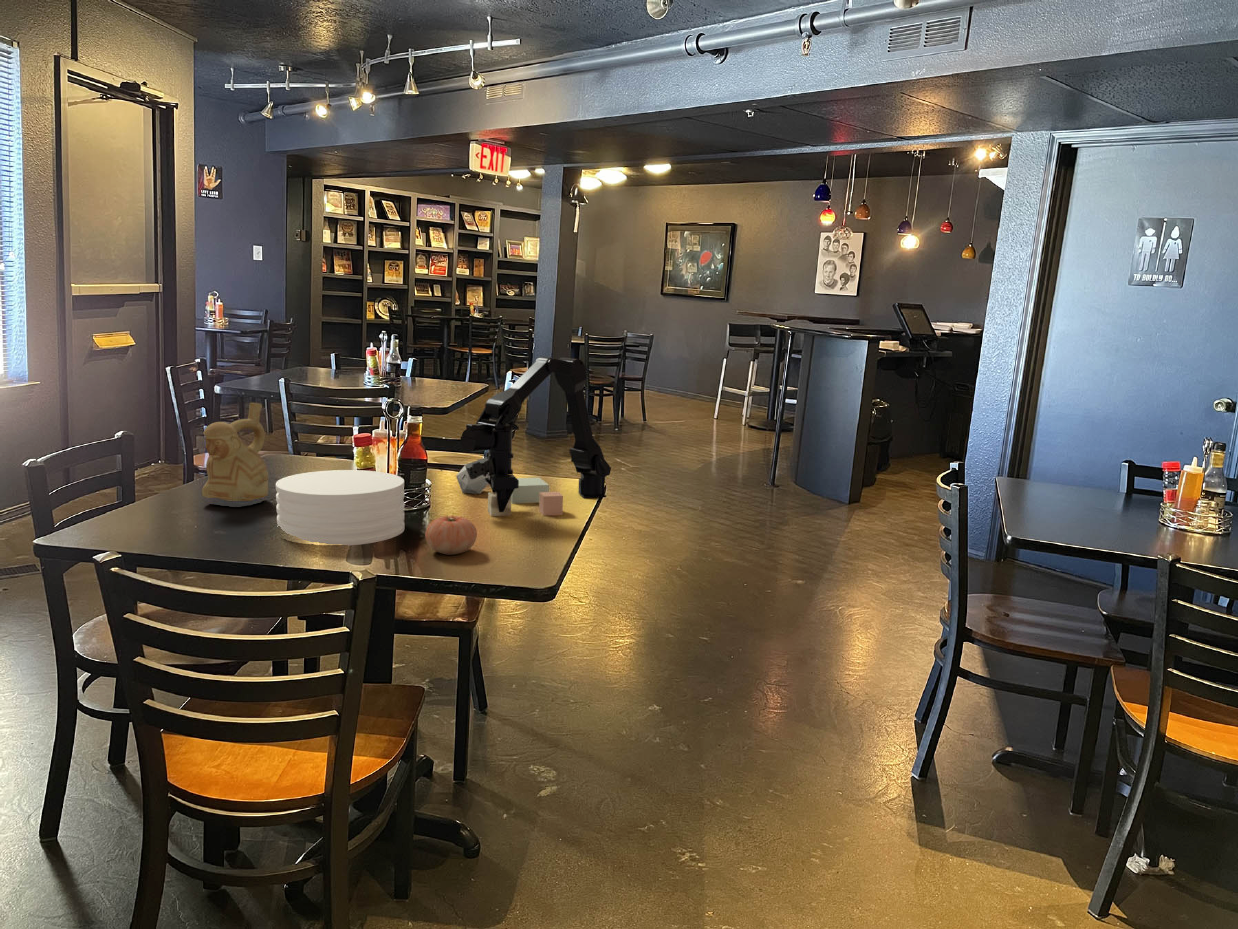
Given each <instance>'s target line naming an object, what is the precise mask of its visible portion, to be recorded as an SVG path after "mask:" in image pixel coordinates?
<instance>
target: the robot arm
mask: <svg viewBox="0 0 1238 929" xmlns="http://www.w3.org/2000/svg"><path fill="white" fill-rule="evenodd" d="M551 374H553V375H554V378H555V380H556V383H557V384H558V385H559V387H560V388H561V389H562V391H563V392H564V395H565V399H566V403H567V409H568V414H569V418H570V423H571V427H572V431H573V436H574V443H573V445H572V446H573V447H570V448H569V450H568V451H569V453H570V457H571V460H570V462H571V463H573V465H574V467H575V471H576V473H579V474H580V478H578V494H579V495H580V496H581V497H582V498H584V499H587V498H589V499H591V498H592V499H593V498H595V499H596V498H597V499H598V498H607V494H605V492H606V491H605V490H606V489H605V487H606V477H607V476H610V475H611V470H612V467H611V466H610V464H609V463H608V461H607V460H606V459H605V456H604V453H603V451H602V447H601V446H600V445H599V443H598V442H597V440H596V439H595V438H594V436H593V432H592V431H593V430H592V427H591V426H592V425H591V421H590V416H589V412H588V406H587V402H586V397H585V396H586V395H585V393H584V388H585V384H586V383H587V368H586V365H585V362H584V361H582V359H579V358H571V357H570V358H569V357H560V358H558V359H557V358H554V357H552V356H551V357H549V356H539V357H538V358H536V360H535V362H534V363H533V364H532V365H531V366H530V367H529V368H528V369H527V370H526V371H524V373H523V374H522V375H521V376H520V377H519V378H518V379H517V380H515V382H514V383H513V384H512V385H511V386H509V387H508V388H507V389H505V390H503V391H500V392H497V393H496V394H494V395H493V396H492V397H490V398H489V399H488V400H486V402H485V404H484V406H485V407H484V409H483V411H482V412H481V414H480V416H479V417H478V419H477V421H476V423H475V424H473V423H468V424H466V425H465V426H466V427H465V428H466V429H464V430H463V432H462V434H461V436H460V445H461V448H462V449H463V451H464V452H466V453H476V452H484V451H487V452H485V457H483V458H480V459H477V460H474V461H472V462H469V463H465V465H464V466H465V467H466V470H467V472H468V475H469V477H470V479H475V478H477V477H479V476H481V475H483V476H486V475H488V478H485V480H486V481H487V482H488V485H489V487H490V488H491V492H496V496H497V502H498V508H499V512H504V510H505V508H506V505H507V503H508V501H509V499H510V497H511V495H512V493H513V491H514V489H516V488H519V480H518V479H517V477H516V476H515V475H514V470H513V469H512V466H513V464H512V462H513V461H512V460H513V459H514V453H513V452H512V451H513V431H518V430H519V429H520V427H519V426H518V425H517V424H516V423H515V421H514V420H515V418H516V417H517V416H518V415H519V413H520V412H521V410H522V407H523V403H524V402H525V400H526V399H528V397H529V396H530V395H531V394H532V393H533V392H534V391H535V390H537V388H539V386H540V385H541V384H543V383H544V381H546V379H547V378H548V377H549V376H550V375H551Z"/></svg>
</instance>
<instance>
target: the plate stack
mask: <svg viewBox="0 0 1238 929" xmlns="http://www.w3.org/2000/svg"><path fill="white" fill-rule="evenodd" d="M404 488H405V480H404V478H403V477H401V476H400V475H396V474H393V473H387V472H383V471H375V470H361V469H337V470H334V469H333V470H319V471H317V470H316V471H310V472H302V473H296V474H292V475H289V476H284V477H283V478H280V479H278V480H277V481H276V482H275V491H276V492H277V493H276V494H275V500H276V503H277V504H276V507H275V509H276V513H277V515H276V523H277V527H278V526H280V527H281V529H282V530H283V531H285V532H286V533H287V534H290V535H293V536H296V537H298V538H301V540H307V541H310V542H319V543H326V544H342V545H348V546H358V545H366V544H367V545H368V544H372V543H373V544H374V543H376V542H382V541H387V540H389V539H392V538H394V537H395V538H396V537H397V536H400V535H401V534H402V533H404V531H405V501H404V498H405V490H404Z"/></svg>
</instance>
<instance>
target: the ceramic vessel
mask: <svg viewBox="0 0 1238 929" xmlns="http://www.w3.org/2000/svg"><path fill="white" fill-rule="evenodd" d="M262 408H263V404H261V403H259V402H258V403H257V402H249V408H248V416H247V418H242V419H237V420H234V421H232V422H231V423H228V422H225V421H216V422H212V423H210V424H209V425H207V426H206V427H205V428H204V431H203V433H202V434H203V435H204V440H205V446H204V447H205V450H206V451H207V453H208V456H209V457H208V459H207V460H206V464H205V466H206V467H205V469H206V474H207V476H208V479H207V481H206V483H205V484H204V485H203V487H202V488H201V496H202V497H203V496H204V497H207V498H219V499H223V500H227V501H251V500H254V499H259V498H263V497H265V496H267V497H268V495H269V494H268V493H269V472H268V468H267V464H266V462H265V461H264V459H263V458H262V457H261V456H260V454H259V453H260V451H261V450H262V448H263V447H264V443H265V440H266V439H265V438H266V434H265V429H264V427H263V425H262V423H261V422H260V418H261V412H262ZM244 429H250V430H252V431H253V434H254V437H253V441H252V442H251V444H250V445H247V444H245V442H244V441H242V439H241V438H240V437H239V434H238V432H240V431H241V430H244Z"/></svg>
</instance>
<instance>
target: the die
mask: <svg viewBox="0 0 1238 929" xmlns="http://www.w3.org/2000/svg"><path fill="white" fill-rule="evenodd" d="M455 477H456V479H457V483H458V485H459V487H460V489H461V492H462V494H463V493H464V494H475V495H481V493H482V492H483V491H484V490H485V488H486V487H487V486H488V485H489V483H488V482H487V481H486V480H485V478H488V474H487V475H486V476H483V475H481V476H479V477H477V478H475V479H470V477H469V475H468V472H467V470H466V467H465V465H464V466H463V467H462V468H461V469H460V471H459V472H458V473H457V474H456V476H455Z"/></svg>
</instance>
